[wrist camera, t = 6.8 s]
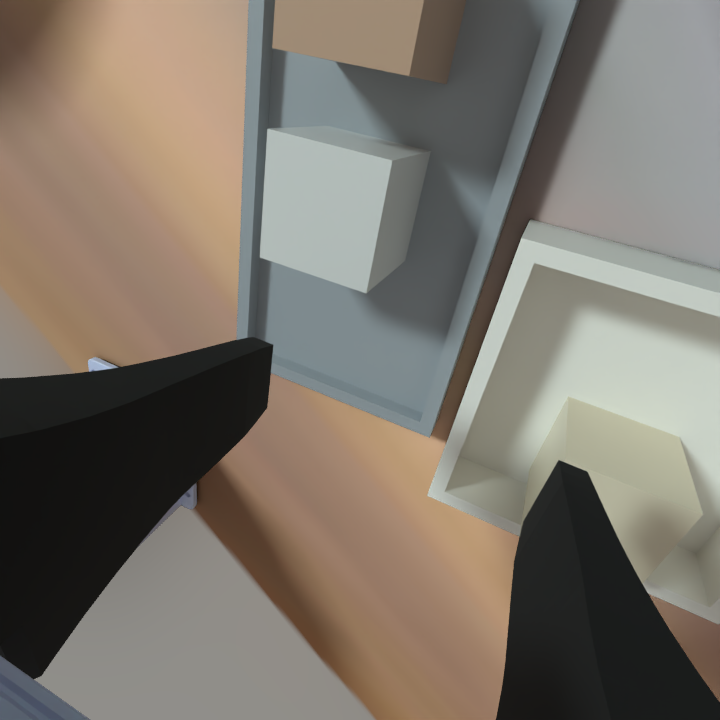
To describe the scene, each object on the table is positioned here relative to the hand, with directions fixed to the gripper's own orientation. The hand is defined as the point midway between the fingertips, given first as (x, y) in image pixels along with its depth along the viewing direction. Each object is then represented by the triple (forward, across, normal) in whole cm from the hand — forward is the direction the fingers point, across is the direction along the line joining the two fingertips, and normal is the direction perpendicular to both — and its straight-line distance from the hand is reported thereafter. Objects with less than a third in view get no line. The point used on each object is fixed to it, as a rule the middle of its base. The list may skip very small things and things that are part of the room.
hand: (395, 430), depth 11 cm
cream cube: (+8, -7, +4) cm, 11 cm away
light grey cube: (+8, +5, -3) cm, 10 cm away
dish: (+9, -7, +2) cm, 11 cm away
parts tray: (+9, +5, -3) cm, 10 cm away
